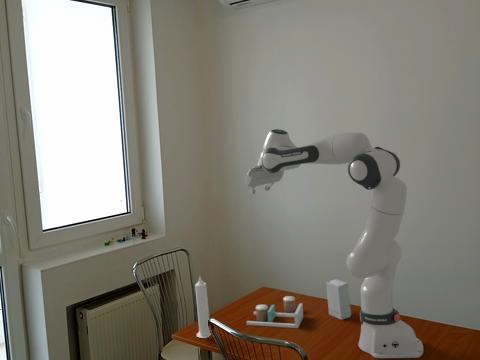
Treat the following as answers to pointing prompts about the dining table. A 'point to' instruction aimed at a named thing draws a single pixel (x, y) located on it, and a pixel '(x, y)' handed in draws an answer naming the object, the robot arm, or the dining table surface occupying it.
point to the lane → (297, 316)
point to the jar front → (262, 313)
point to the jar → (289, 304)
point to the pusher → (271, 313)
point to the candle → (202, 309)
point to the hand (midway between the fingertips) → (259, 191)
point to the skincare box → (338, 299)
